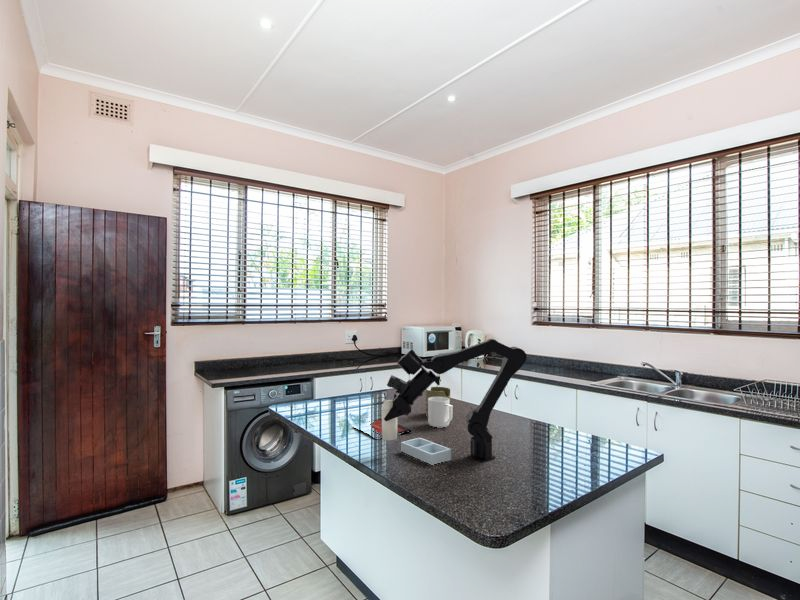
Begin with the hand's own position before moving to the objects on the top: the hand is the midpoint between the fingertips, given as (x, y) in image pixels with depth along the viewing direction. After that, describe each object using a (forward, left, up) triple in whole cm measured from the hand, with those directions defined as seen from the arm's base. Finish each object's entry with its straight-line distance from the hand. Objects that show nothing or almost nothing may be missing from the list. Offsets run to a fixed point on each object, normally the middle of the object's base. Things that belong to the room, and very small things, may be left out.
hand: (385, 417), depth 142 cm
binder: (+26, -16, -13) cm, 33 cm away
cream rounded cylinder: (-1, -1, -7) cm, 7 cm away
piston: (+29, -50, -13) cm, 59 cm away
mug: (+15, -39, -13) cm, 44 cm away
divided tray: (-8, -11, -13) cm, 18 cm away
